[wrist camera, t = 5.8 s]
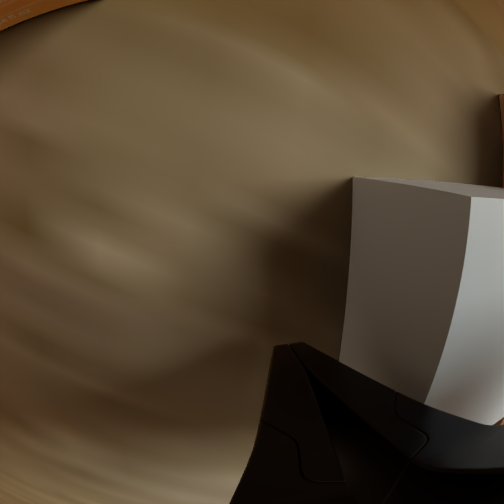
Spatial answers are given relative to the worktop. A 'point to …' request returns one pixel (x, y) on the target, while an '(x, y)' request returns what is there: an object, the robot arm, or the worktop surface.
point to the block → (428, 293)
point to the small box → (27, 9)
